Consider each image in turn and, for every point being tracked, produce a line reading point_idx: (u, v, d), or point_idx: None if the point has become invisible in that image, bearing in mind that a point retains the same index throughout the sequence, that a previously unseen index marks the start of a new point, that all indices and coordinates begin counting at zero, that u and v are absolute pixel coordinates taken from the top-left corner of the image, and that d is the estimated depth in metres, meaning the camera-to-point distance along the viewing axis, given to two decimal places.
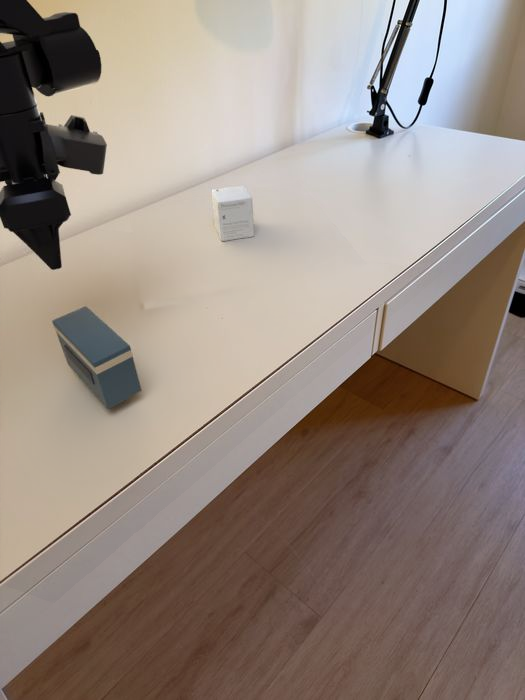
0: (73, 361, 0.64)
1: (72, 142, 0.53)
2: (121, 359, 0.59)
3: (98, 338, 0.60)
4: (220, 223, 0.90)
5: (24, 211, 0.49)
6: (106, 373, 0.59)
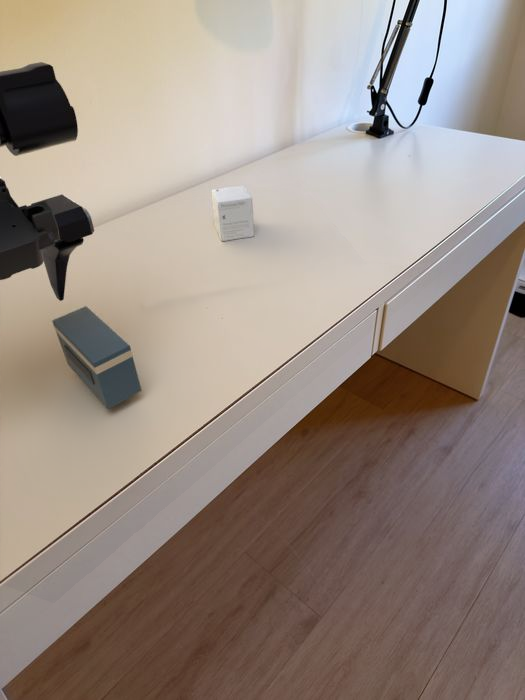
0: (73, 361, 0.64)
1: None
2: (121, 359, 0.59)
3: (98, 338, 0.60)
4: (220, 223, 0.90)
5: None
6: (106, 373, 0.59)
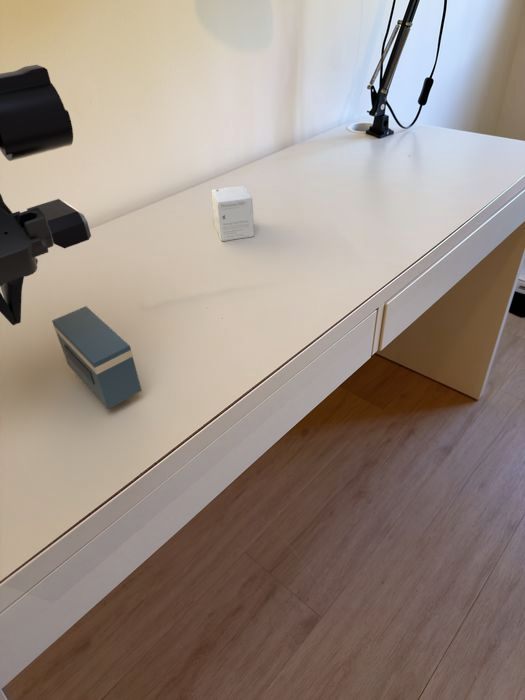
0: (73, 361, 0.64)
1: None
2: (121, 359, 0.59)
3: (98, 338, 0.60)
4: (220, 223, 0.90)
5: None
6: (106, 373, 0.59)
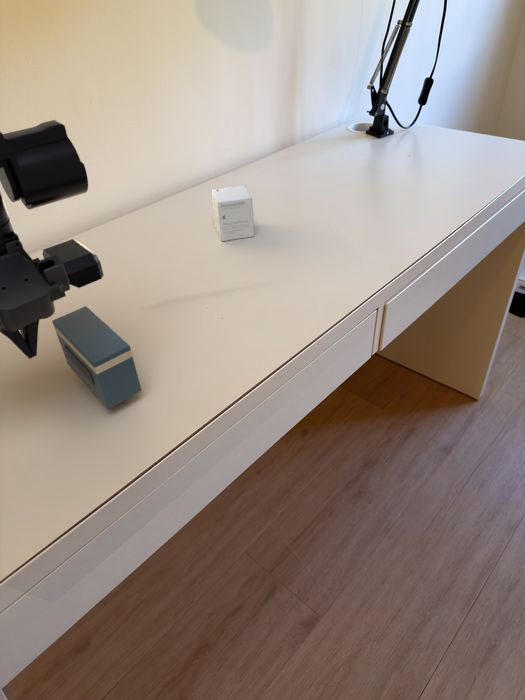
0: (73, 361, 0.64)
1: None
2: (121, 359, 0.59)
3: (98, 338, 0.60)
4: (220, 223, 0.90)
5: None
6: (106, 373, 0.59)
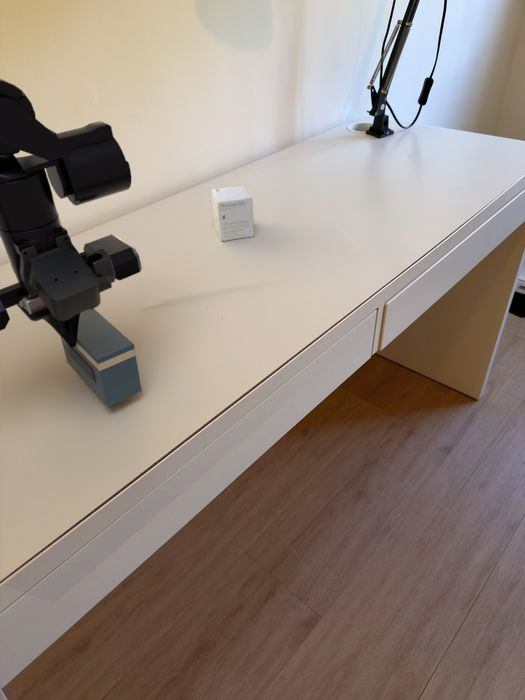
0: (74, 359, 0.64)
1: (35, 279, 0.48)
2: (124, 357, 0.59)
3: (102, 336, 0.60)
4: (220, 223, 0.90)
5: None
6: (109, 370, 0.59)
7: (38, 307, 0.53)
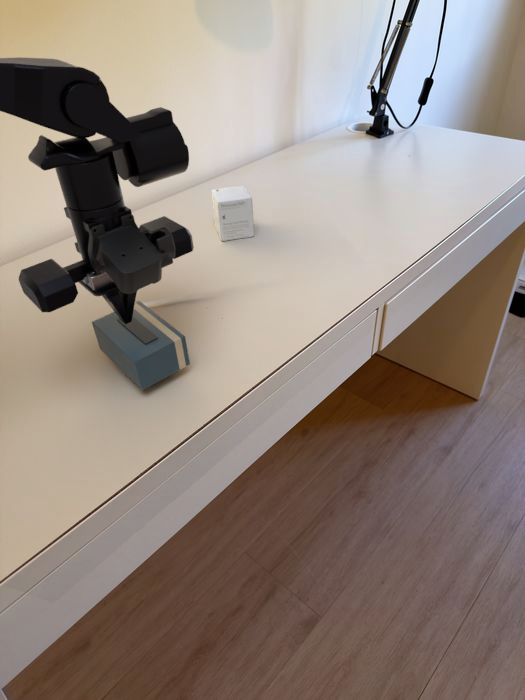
0: (125, 324, 0.66)
1: (105, 254, 0.52)
2: (180, 360, 0.65)
3: None
4: (220, 223, 0.90)
5: (25, 287, 0.54)
6: (172, 350, 0.64)
7: (101, 283, 0.57)
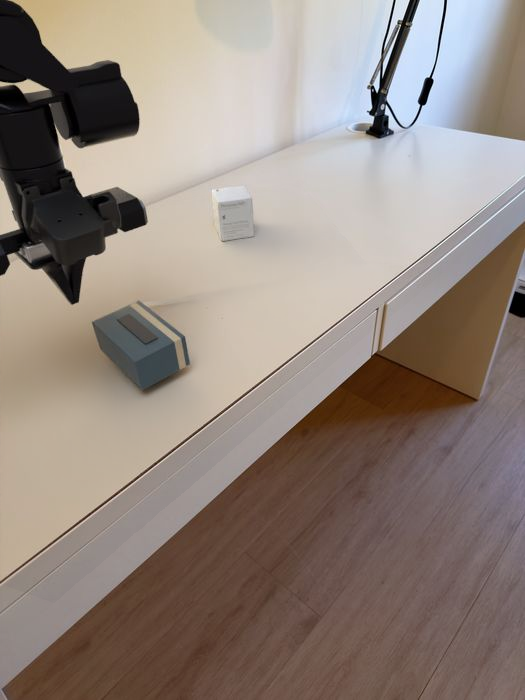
0: (125, 324, 0.66)
1: (38, 220, 0.46)
2: (180, 360, 0.65)
3: None
4: (220, 223, 0.90)
5: None
6: (172, 350, 0.64)
7: (39, 255, 0.51)
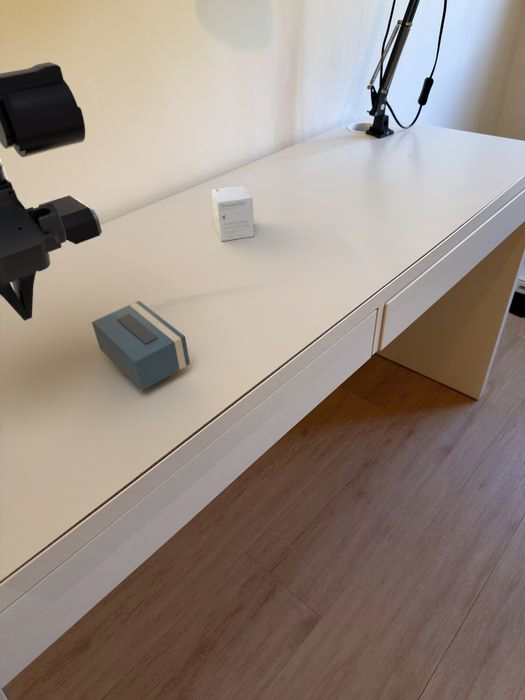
0: (125, 324, 0.66)
1: None
2: (180, 360, 0.65)
3: None
4: (220, 223, 0.90)
5: None
6: (172, 350, 0.64)
7: None
